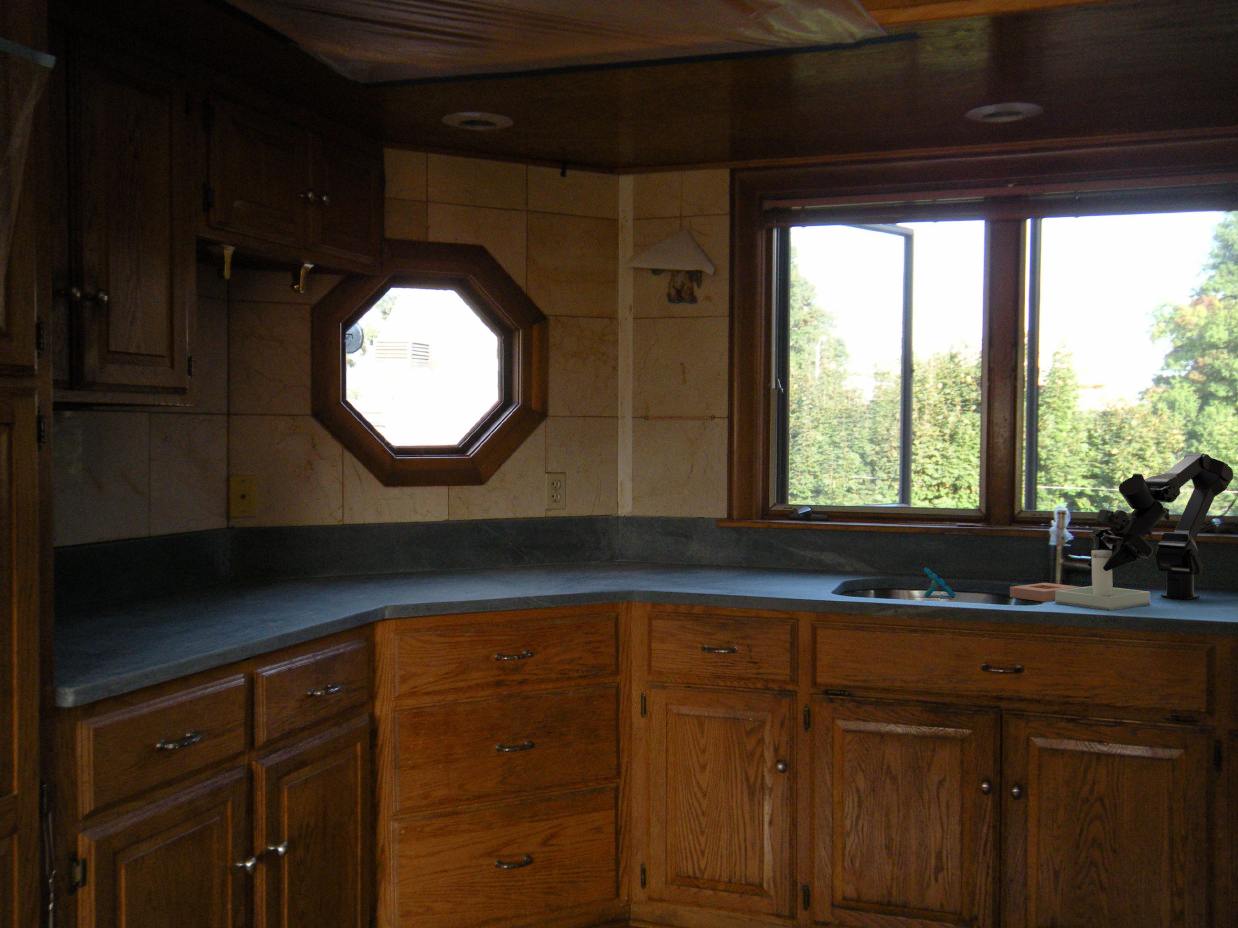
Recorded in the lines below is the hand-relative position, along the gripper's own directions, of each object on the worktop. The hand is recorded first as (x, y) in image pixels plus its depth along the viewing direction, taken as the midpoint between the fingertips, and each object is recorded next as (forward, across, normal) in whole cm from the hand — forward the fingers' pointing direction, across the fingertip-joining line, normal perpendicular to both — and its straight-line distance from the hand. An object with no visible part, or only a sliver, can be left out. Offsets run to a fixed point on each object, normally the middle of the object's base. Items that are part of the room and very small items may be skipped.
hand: (1096, 568), depth 247 cm
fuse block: (+11, -13, +1) cm, 17 cm away
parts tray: (+5, 0, +7) cm, 9 cm away
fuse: (+5, 0, +7) cm, 8 cm away
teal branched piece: (+29, -17, -16) cm, 37 cm away
